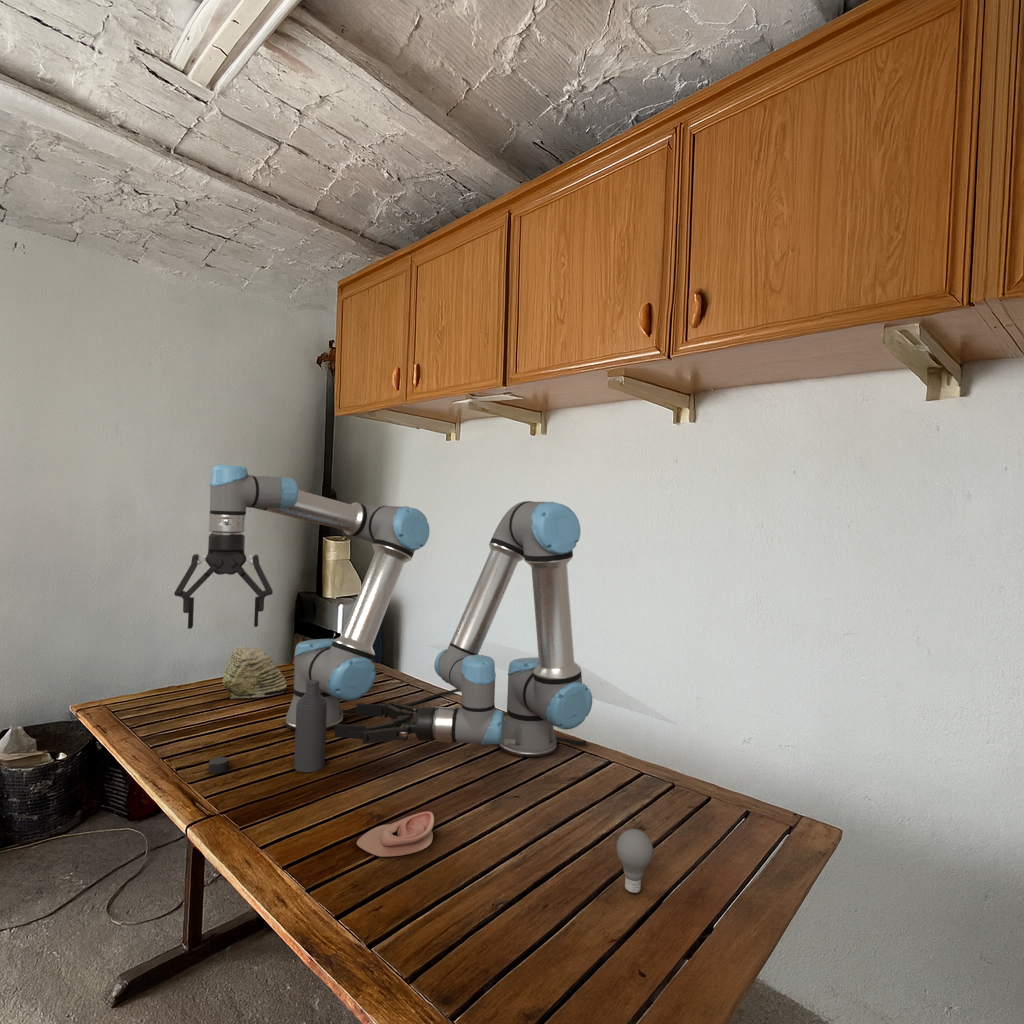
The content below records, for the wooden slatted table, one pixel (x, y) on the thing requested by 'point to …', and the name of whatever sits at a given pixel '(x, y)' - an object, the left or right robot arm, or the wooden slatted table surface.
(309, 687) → the bottle
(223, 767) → the cap
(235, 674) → the fossil
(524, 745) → the right robot arm
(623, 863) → the light bulb
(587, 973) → the wooden slatted table surface
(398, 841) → the anatomical model
